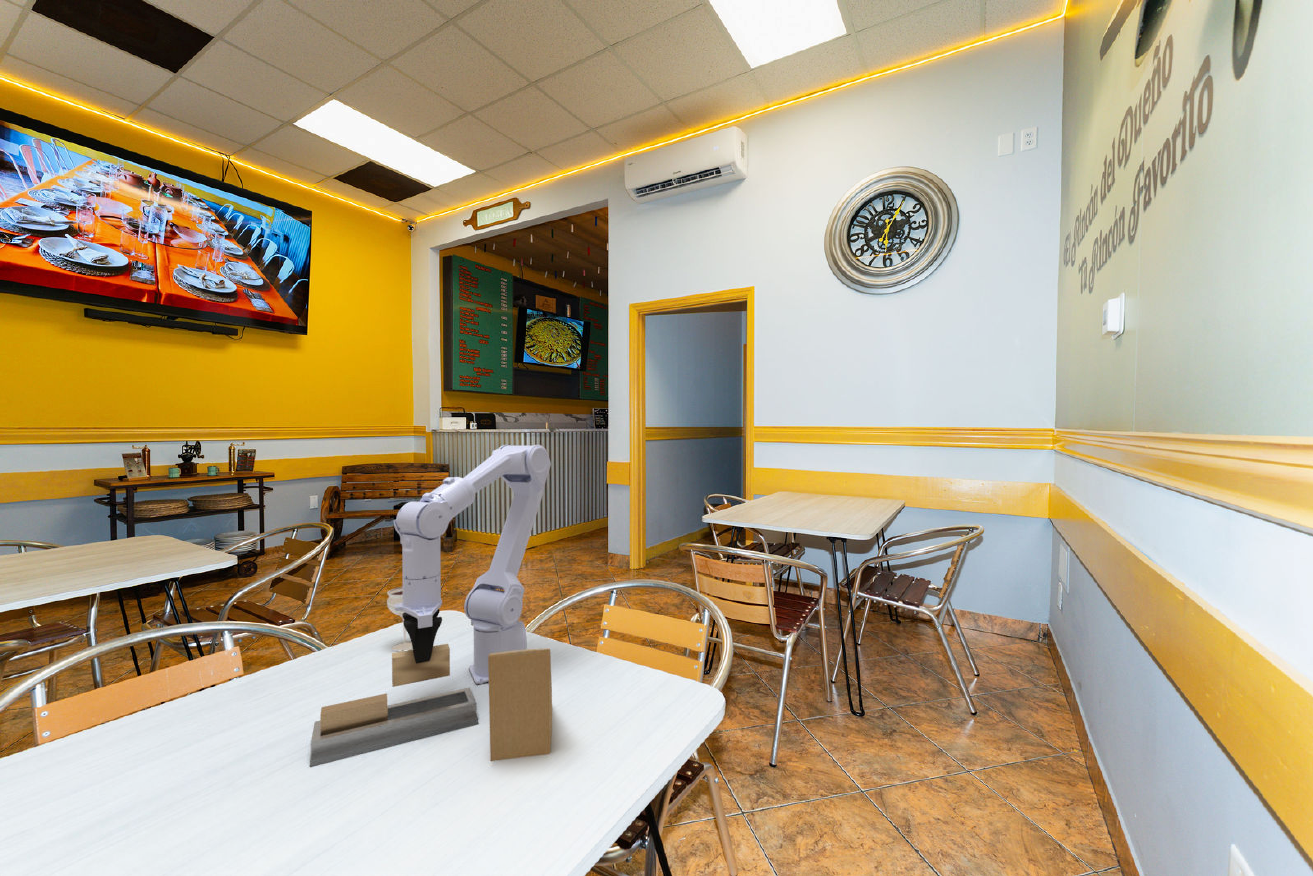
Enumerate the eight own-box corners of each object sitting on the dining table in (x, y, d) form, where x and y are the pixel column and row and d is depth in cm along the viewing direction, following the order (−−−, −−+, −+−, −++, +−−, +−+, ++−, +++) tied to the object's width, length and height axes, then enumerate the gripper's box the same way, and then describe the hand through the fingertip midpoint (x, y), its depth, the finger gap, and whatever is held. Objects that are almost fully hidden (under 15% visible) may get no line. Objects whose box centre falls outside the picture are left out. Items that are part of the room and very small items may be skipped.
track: (468, 699, 91) (468, 668, 91) (478, 723, 83) (478, 689, 83) (315, 734, 80) (315, 699, 80) (310, 766, 72) (309, 727, 72)
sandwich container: (552, 701, 90) (551, 613, 90) (552, 755, 75) (551, 648, 75) (499, 707, 88) (498, 616, 88) (488, 762, 73) (487, 653, 73)
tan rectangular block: (448, 670, 90) (448, 643, 90) (449, 675, 88) (449, 648, 88) (392, 681, 86) (392, 653, 86) (392, 687, 84) (392, 658, 84)
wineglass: (379, 652, 111) (379, 594, 111) (400, 640, 118) (400, 585, 118) (409, 654, 110) (409, 596, 110) (428, 641, 116) (428, 586, 116)
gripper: (393, 568, 92) (393, 647, 92) (395, 589, 79) (396, 681, 79) (437, 564, 95) (437, 640, 95) (446, 583, 82) (447, 671, 82)
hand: (422, 658), depth 87 cm, fingers closed on tan rectangular block, 2 cm apart
